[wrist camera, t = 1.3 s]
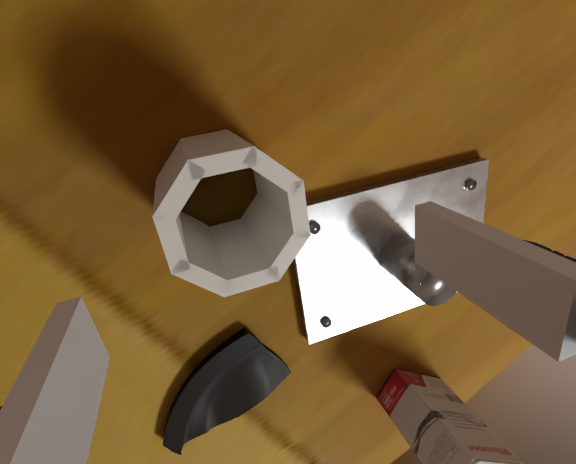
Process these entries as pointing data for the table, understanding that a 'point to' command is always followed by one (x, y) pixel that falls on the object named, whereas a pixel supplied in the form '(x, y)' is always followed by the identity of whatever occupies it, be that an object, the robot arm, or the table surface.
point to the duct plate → (377, 248)
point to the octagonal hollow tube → (235, 234)
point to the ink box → (440, 422)
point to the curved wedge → (223, 388)
